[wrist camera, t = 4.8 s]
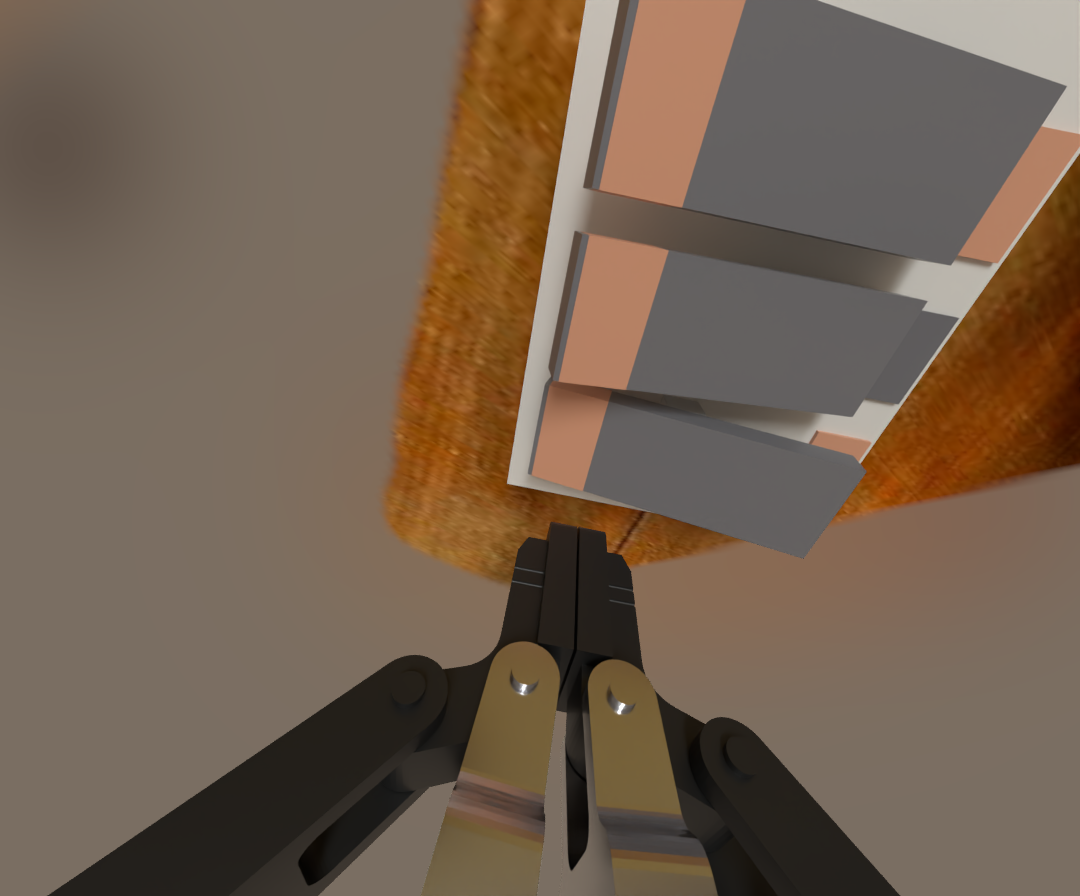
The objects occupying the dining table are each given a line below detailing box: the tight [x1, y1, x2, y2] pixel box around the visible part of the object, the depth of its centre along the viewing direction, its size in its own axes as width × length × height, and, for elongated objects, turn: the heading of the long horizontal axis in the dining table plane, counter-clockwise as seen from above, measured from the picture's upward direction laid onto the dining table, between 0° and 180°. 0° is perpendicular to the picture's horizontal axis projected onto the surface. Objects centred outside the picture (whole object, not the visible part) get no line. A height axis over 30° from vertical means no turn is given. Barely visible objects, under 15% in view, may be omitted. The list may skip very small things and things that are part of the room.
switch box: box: [507, 0, 1080, 514], centre depth 17 cm, size 16×20×5 cm
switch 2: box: [548, 231, 928, 417], centre depth 14 cm, size 12×4×1 cm, turn 80°
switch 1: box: [583, 0, 1067, 266], centre depth 11 cm, size 12×4×1 cm, turn 80°
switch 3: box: [528, 377, 866, 559], centre depth 17 cm, size 12×4×1 cm, turn 80°
